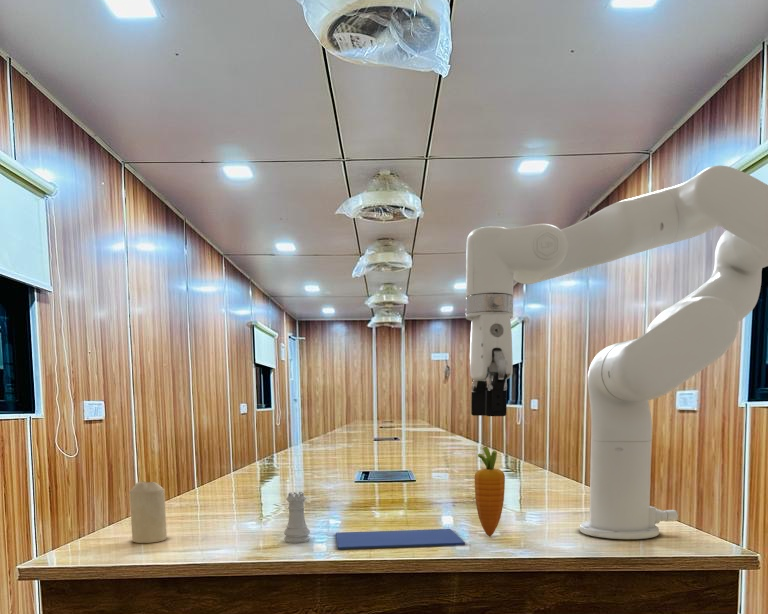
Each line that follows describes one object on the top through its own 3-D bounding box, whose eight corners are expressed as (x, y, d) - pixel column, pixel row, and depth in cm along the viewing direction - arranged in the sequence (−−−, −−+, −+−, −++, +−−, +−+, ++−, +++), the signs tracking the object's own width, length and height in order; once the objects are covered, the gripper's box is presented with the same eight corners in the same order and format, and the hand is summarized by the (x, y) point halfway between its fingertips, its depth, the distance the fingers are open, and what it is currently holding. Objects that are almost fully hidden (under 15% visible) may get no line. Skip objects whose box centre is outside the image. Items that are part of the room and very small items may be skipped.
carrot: (504, 539, 107) (504, 447, 105) (473, 539, 108) (473, 447, 106) (504, 533, 112) (505, 445, 110) (475, 533, 113) (475, 446, 111)
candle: (173, 538, 113) (170, 480, 112) (150, 544, 108) (146, 483, 107) (149, 536, 115) (146, 479, 114) (125, 542, 110) (121, 482, 109)
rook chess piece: (316, 540, 109) (315, 492, 108) (295, 544, 106) (293, 495, 105) (299, 537, 112) (297, 490, 111) (278, 541, 109) (276, 493, 108)
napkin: (450, 531, 115) (450, 528, 115) (465, 545, 103) (465, 542, 103) (336, 534, 113) (335, 532, 113) (337, 549, 102) (337, 547, 101)
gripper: (528, 300, 98) (526, 416, 99) (497, 316, 115) (496, 415, 117) (479, 300, 97) (478, 416, 99) (455, 316, 114) (454, 415, 116)
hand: (487, 415), depth 108 cm, fingers open, 9 cm apart
